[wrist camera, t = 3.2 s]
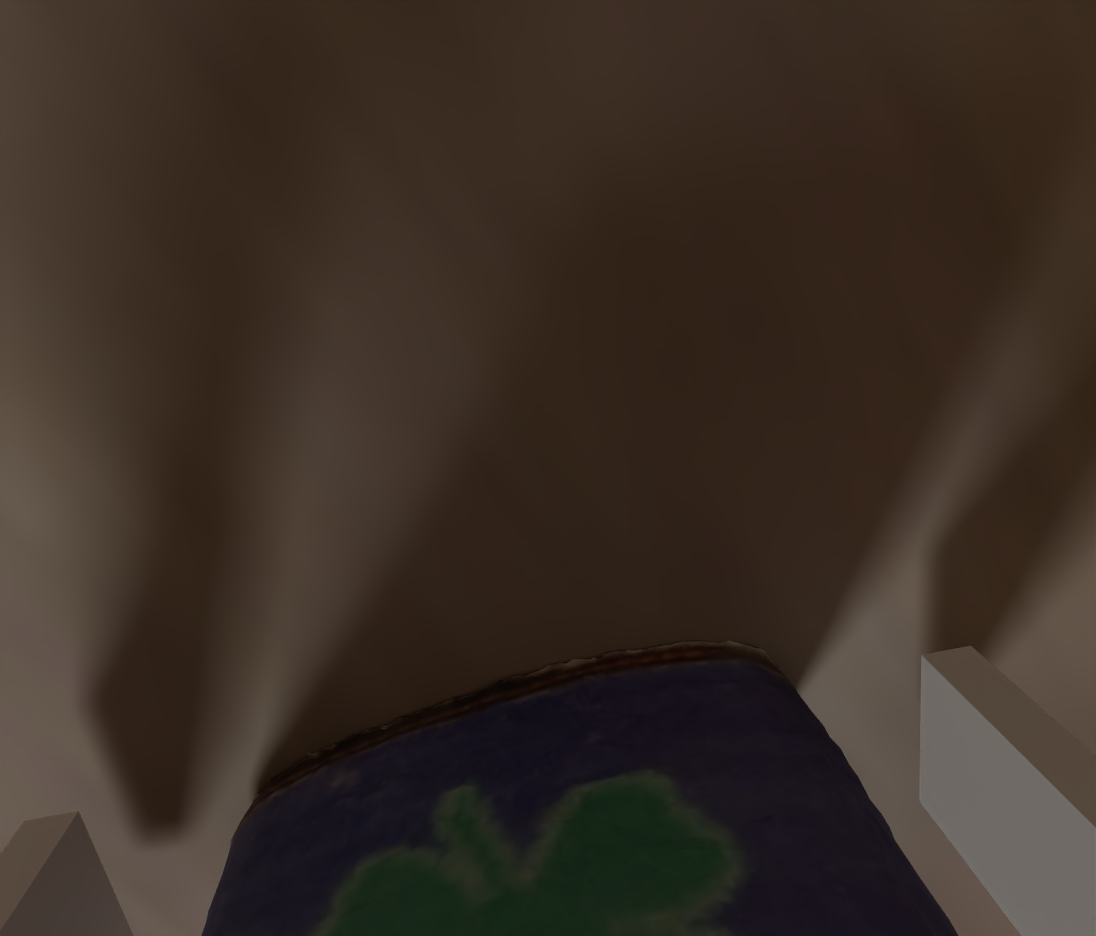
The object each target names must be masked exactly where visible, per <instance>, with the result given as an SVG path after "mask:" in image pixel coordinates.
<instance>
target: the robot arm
mask: <svg viewBox="0 0 1096 936" xmlns="http://www.w3.org/2000/svg"><path fill="white" fill-rule="evenodd" d="M919 801H920V802H921V804H922V805H923V806H924V808H925V809H926V810H927V811H928V813H929V814H930V815H931V817H932V818H933V819H934V821H935V822H936V823H937V825H938V826H939V827H940V829H941V830H942V831H943V833H944V834H945V835H946V837H947V838H948V839H949V841H950V842H951V843H952V845H953V846H954V847H955V849H956V850H957V851H958V852H959V854H960V855H961V856H962V858H963V859H964V860H965V862H966V863H967V864H968V866H969V867H970V868H971V870H972V871H973V872H974V874H975V875H976V876H977V878H978V879H979V880H980V882H981V883H982V884H983V886H984V887H985V888H986V890H987V891H988V892H989V893H990V895H991V896H992V897H993V899H994V900H995V901H996V903H997V904H998V905H999V907H1000V908H1001V909H1002V911H1003V912H1004V913H1005V915H1006V916H1007V917H1008V919H1009V920H1010V921H1011V923H1012V924H1013V925H1014V927H1015V928H1016V929H1017V931H1018V932H1019V933H1020V934H1021V936H1096V755H1095V754H1094V753H1093V752H1092V751H1090V750H1089V749H1088V748H1087V747H1086V746H1085V745H1084V744H1082V743H1081V742H1080V741H1079V740H1078V739H1077V738H1076V737H1074V736H1073V735H1072V734H1071V733H1070V732H1069V731H1068V730H1067V729H1065V728H1064V727H1063V726H1062V725H1061V724H1060V723H1059V722H1057V721H1056V720H1055V719H1054V718H1053V717H1052V716H1051V715H1049V714H1048V713H1047V712H1046V711H1045V710H1044V709H1043V708H1041V707H1040V706H1039V705H1038V704H1037V703H1036V702H1035V701H1033V700H1032V699H1031V698H1030V697H1029V696H1028V695H1027V694H1025V693H1024V692H1023V691H1022V690H1021V689H1020V688H1019V687H1017V686H1016V685H1015V684H1014V683H1013V682H1012V681H1011V680H1009V679H1008V678H1007V677H1006V676H1005V675H1004V674H1003V673H1001V672H1000V671H999V670H998V669H997V668H996V667H995V666H993V665H992V664H991V663H990V662H989V661H988V660H987V659H985V658H984V657H983V656H982V655H981V654H980V653H979V652H977V651H976V650H975V649H974V648H973V647H972V646H966V647H961V648H955V649H950V650H944V651H939V652H934V653H928V654H923V655H921V723H920V800H919ZM0 936H133V934H132V931H131V929H130V927H129V925H128V922H127V920H126V918H125V916H124V913H123V911H122V909H121V906H120V904H119V902H118V900H117V897H116V895H115V893H114V890H113V888H112V886H111V884H110V881H109V879H108V877H107V875H106V872H105V870H104V868H103V865H102V863H101V861H100V859H99V856H98V854H97V852H96V850H95V847H94V845H93V843H92V840H91V838H90V836H89V834H88V831H87V829H86V827H85V824H84V822H83V820H82V818H81V815H80V813H79V811H76V812H71V813H66V814H60V815H55V816H49V817H44V818H39V819H33V820H28V821H24V822H23V824H22V825H21V827H20V828H19V829H18V831H17V832H16V833H15V835H14V836H13V837H12V839H11V840H10V842H9V843H8V844H7V846H6V847H5V848H4V850H3V851H2V852H1V854H0Z"/></svg>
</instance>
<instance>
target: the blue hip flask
mask: <svg viewBox="0 0 1096 936" xmlns="http://www.w3.org/2000/svg"><path fill="white" fill-rule="evenodd" d="M202 936H958V934H957V933H956V931H955V929H954V927H953V926H952V924H951V922H950V920H949V919H948V917H947V916H946V915H945V913H944V912H943V910H942V909H941V907H940V906H939V904H938V903H937V902H936V900H935V899H934V897H933V896H932V894H931V893H930V892H929V890H928V889H927V887H926V886H925V884H924V883H923V882H922V880H921V879H920V877H919V876H918V874H917V873H916V871H915V870H914V868H913V867H912V865H911V864H910V862H909V861H908V859H907V858H906V856H905V855H904V853H903V852H902V850H901V849H900V847H899V846H898V844H897V843H896V841H895V840H894V837H893V835H892V832H891V829H890V827H889V826H888V824H887V822H886V821H885V819H884V817H883V816H882V814H881V813H880V812H879V810H878V809H877V808H876V807H875V805H874V804H873V803H872V801H871V800H870V799H869V797H868V795H867V793H866V791H865V789H864V787H863V785H862V783H861V782H860V780H859V778H858V776H857V775H856V773H855V772H854V771H853V769H852V768H851V767H850V765H849V763H848V761H847V760H846V758H845V756H844V754H843V752H842V750H841V749H840V748H839V746H838V745H837V744H836V743H835V742H834V741H833V740H832V739H831V738H830V737H829V735H828V733H827V731H826V729H825V728H824V726H823V725H822V723H821V722H820V721H819V720H818V718H817V717H816V716H815V715H814V714H813V712H812V711H811V710H810V709H809V707H808V706H807V705H806V703H805V702H804V701H803V699H802V698H801V697H800V695H799V694H798V692H797V690H796V688H795V687H794V686H793V685H792V683H791V682H790V681H789V680H788V679H787V678H786V677H785V676H784V674H783V673H782V672H781V671H780V670H779V668H778V666H777V665H776V664H775V663H774V662H773V661H772V660H771V658H770V657H769V656H768V654H767V653H766V651H764V650H763V649H762V648H754V647H751V646H747V645H744V644H741V643H738V642H734V641H731V640H727V641H725V642H720V643H711V642H705V641H694V642H675V643H674V644H673V645H668V644H664V645H662V646H656V647H655V648H653V647H652V648H648V649H645V650H643V649H639V650H635V651H632V650H627V651H625V652H622V651H614V652H609V654H608V653H603V655H602V657H601V658H598V659H596V658H595V657H594V658H592V659H572V660H571V661H569V662H568V663H557V664H555V665H546V666H545V667H544V668H543V669H541V670H539V671H536V672H533V673H531V674H528V675H525V676H520V675H517V676H513V677H508V678H507V679H506V680H505V681H504V680H500V681H499V682H498V683H496V684H495V685H494V686H492V687H491V688H490V689H489V690H483V691H481V692H479V693H478V694H476V695H475V694H471V695H469V696H468V697H467V696H466V695H465V696H462V697H460V698H456V697H453V699H450V700H448V701H446V702H444V703H441V704H438V705H435V706H433V707H432V708H430V709H424V710H422V711H420V712H418V713H417V712H415V713H413V714H411V715H410V716H408V717H406V716H402V717H400V718H395V720H394V722H392V723H390V724H388V725H382V726H381V727H379V728H375V727H374V728H373V729H372V730H370V731H369V730H368V729H366V730H365V731H363V732H362V733H360V735H359V736H355V735H352V736H351V737H349V738H348V739H346V740H345V741H343V742H340V743H339V744H338V745H336V744H333V745H332V747H328V746H326V747H324V748H321V749H319V750H317V751H316V752H315V753H308V754H307V757H306V758H305V759H304V760H300V761H298V762H296V763H295V764H294V765H293V766H292V767H291V768H290V769H289V770H287V771H285V772H283V773H281V774H279V775H277V776H275V778H274V779H273V778H272V779H271V781H270V782H267V783H266V787H265V789H264V790H263V791H262V792H260V793H258V794H256V796H255V799H254V802H253V803H252V805H251V806H250V808H249V809H248V811H247V812H246V814H245V815H244V817H243V819H242V820H241V822H240V824H239V826H238V828H237V830H236V832H235V834H234V836H233V838H232V839H231V845H230V851H229V855H228V858H227V861H226V864H225V868H224V871H223V874H222V877H221V880H220V882H219V885H218V887H217V890H216V893H215V895H214V898H213V901H212V903H211V906H210V909H209V911H208V915H207V920H206V925H205V927H204V930H203V933H202Z"/></svg>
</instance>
